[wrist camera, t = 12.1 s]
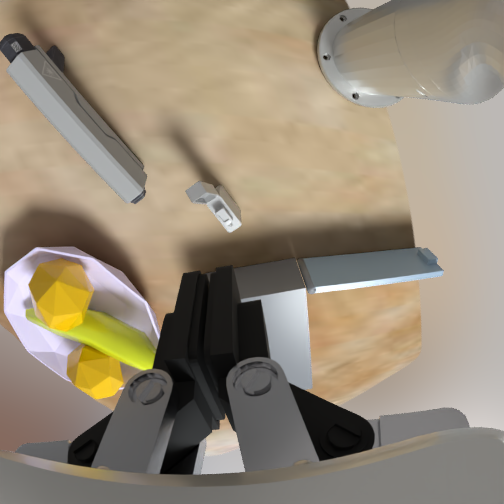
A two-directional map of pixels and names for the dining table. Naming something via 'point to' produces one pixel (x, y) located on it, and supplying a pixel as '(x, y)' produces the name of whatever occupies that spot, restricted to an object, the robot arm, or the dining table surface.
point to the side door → (367, 269)
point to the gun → (73, 115)
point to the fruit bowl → (80, 318)
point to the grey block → (281, 314)
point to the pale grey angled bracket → (217, 203)
